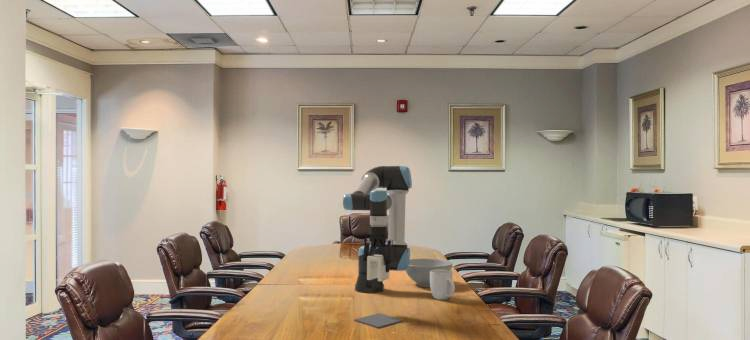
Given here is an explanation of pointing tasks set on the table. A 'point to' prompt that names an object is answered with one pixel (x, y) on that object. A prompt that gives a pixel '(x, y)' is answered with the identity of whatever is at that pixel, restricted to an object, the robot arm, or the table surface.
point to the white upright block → (375, 267)
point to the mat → (378, 320)
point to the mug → (441, 284)
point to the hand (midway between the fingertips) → (378, 278)
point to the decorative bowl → (425, 269)
